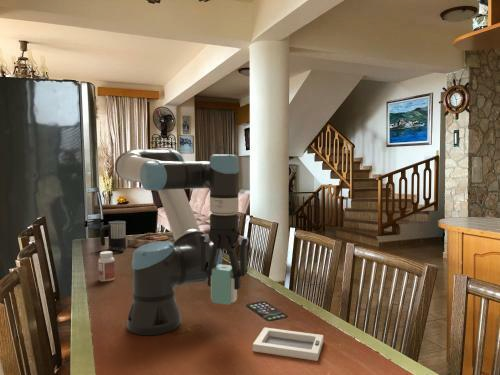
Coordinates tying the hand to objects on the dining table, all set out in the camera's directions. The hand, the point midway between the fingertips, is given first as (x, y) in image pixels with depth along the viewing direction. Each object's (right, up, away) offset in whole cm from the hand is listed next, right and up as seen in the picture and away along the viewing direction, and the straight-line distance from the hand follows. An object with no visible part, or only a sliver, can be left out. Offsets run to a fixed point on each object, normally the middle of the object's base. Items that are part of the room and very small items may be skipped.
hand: (223, 299), depth 106 cm
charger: (0, 0, 0) cm, 0 cm away
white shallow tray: (+17, -11, -5) cm, 21 cm away
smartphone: (+12, -10, +19) cm, 25 cm away
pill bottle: (-51, -7, +53) cm, 73 cm away
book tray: (-47, -3, +122) cm, 131 cm away
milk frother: (-64, -4, +106) cm, 124 cm away
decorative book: (-46, -3, +121) cm, 130 cm away
